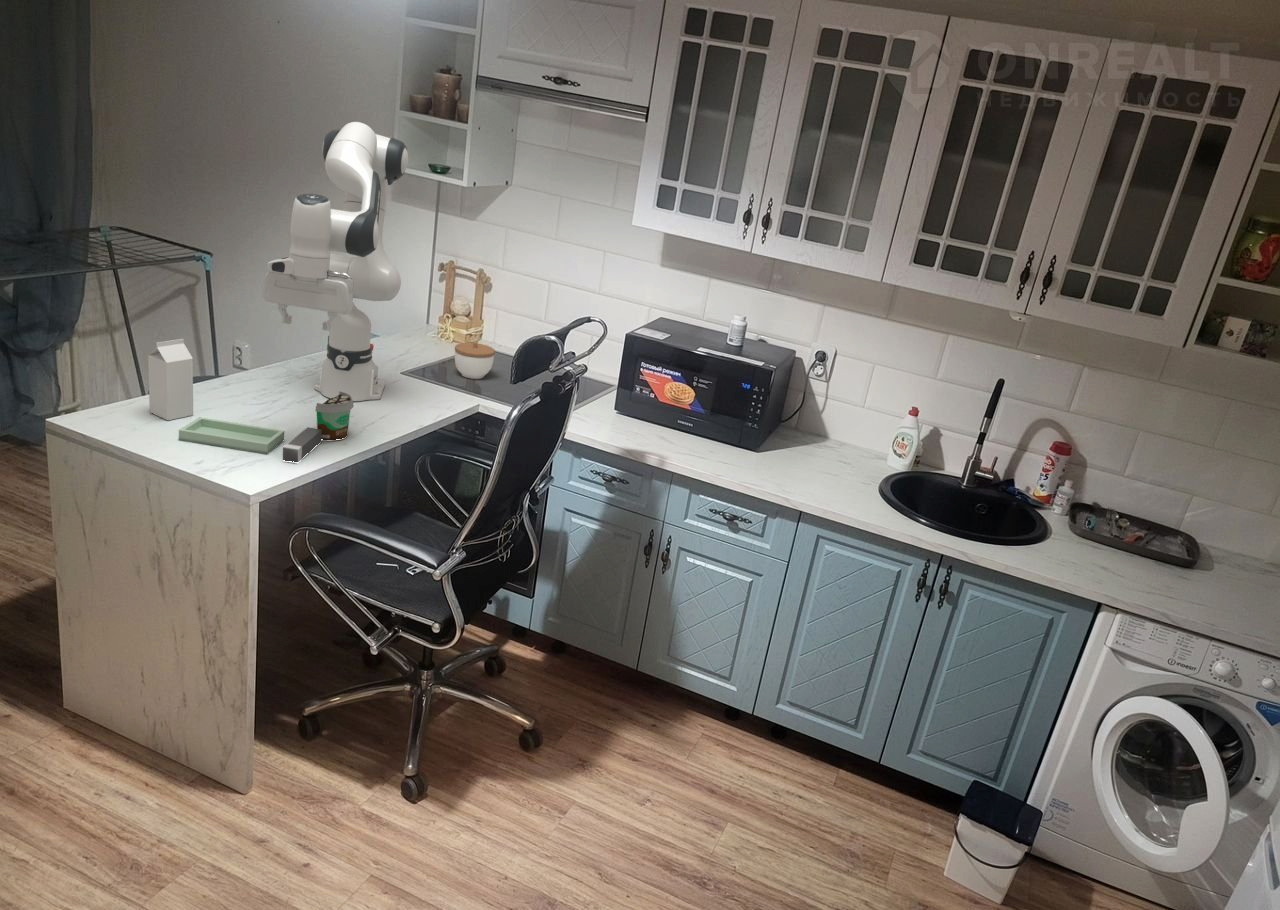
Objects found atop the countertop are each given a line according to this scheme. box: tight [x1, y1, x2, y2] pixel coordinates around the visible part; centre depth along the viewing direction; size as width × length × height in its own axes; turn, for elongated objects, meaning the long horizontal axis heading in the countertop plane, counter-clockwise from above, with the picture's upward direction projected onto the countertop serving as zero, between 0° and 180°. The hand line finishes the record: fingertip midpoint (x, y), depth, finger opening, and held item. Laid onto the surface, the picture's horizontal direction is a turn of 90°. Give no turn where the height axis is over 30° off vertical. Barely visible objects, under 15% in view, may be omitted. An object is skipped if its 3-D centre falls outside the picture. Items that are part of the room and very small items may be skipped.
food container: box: [315, 391, 355, 440], centre depth 239 cm, size 12×6×10 cm, turn 168°
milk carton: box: [147, 338, 194, 421], centre depth 235 cm, size 7×7×19 cm
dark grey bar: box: [282, 426, 322, 462], centre depth 228 cm, size 15×4×4 cm, turn 177°
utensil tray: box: [178, 416, 286, 455], centre depth 228 cm, size 10×21×2 cm, turn 87°
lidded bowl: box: [454, 341, 496, 380], centre depth 305 cm, size 13×13×11 cm
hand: (306, 326), depth 223 cm, fingers open, 8 cm apart
